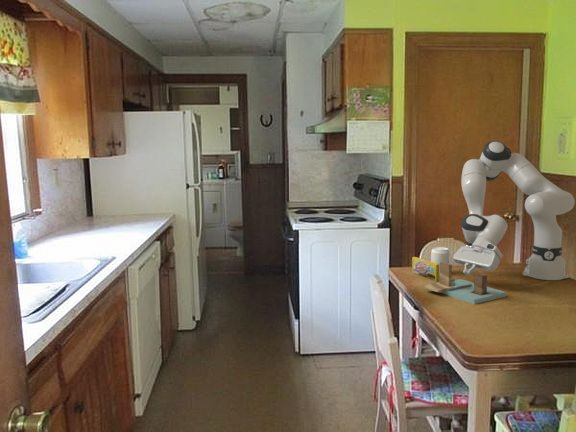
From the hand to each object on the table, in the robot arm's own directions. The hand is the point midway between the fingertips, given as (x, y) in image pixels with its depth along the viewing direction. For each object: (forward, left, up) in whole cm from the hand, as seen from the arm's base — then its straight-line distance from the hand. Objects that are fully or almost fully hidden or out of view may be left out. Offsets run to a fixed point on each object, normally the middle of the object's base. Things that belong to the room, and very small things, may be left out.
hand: (466, 273), depth 214 cm
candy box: (-14, -18, -7) cm, 24 cm away
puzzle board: (+8, 0, -7) cm, 10 cm away
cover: (+10, -11, -4) cm, 15 cm away
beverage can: (-23, -12, -7) cm, 27 cm away
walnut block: (+12, +5, -6) cm, 14 cm away
